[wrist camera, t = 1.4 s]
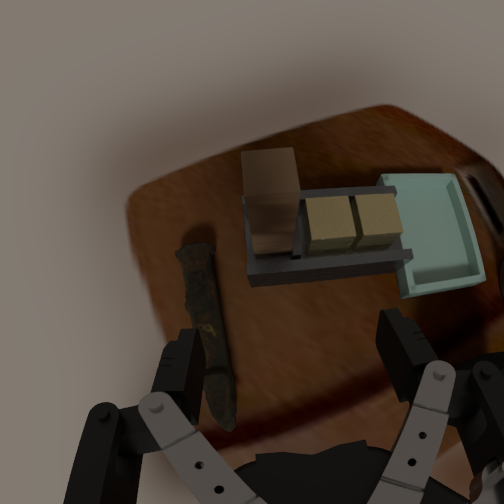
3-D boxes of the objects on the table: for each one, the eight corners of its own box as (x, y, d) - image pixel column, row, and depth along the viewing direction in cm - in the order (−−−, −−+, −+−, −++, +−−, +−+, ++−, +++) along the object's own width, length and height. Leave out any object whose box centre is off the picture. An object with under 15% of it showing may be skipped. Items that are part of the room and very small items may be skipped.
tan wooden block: (294, 214, 32) (303, 139, 20) (300, 259, 30) (315, 199, 19) (251, 218, 32) (240, 144, 20) (255, 263, 30) (244, 205, 19)
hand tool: (182, 257, 34) (169, 242, 30) (216, 250, 34) (208, 234, 30) (206, 429, 28) (196, 440, 24) (245, 425, 28) (240, 436, 24)
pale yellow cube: (339, 214, 31) (347, 195, 28) (346, 251, 30) (356, 235, 26) (301, 217, 31) (305, 198, 28) (307, 254, 30) (311, 239, 26)
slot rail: (381, 206, 35) (394, 185, 30) (395, 272, 32) (413, 258, 27) (245, 217, 35) (241, 195, 30) (250, 287, 33) (247, 275, 28)
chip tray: (446, 183, 35) (454, 173, 33) (475, 285, 31) (486, 280, 28) (375, 185, 36) (381, 174, 33) (400, 298, 31) (409, 293, 29)
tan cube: (381, 211, 31) (393, 193, 27) (389, 246, 30) (403, 231, 26) (346, 214, 31) (354, 195, 28) (353, 250, 30) (363, 235, 26)
